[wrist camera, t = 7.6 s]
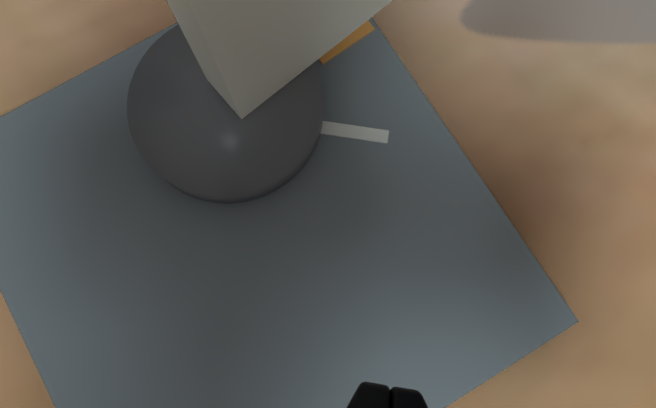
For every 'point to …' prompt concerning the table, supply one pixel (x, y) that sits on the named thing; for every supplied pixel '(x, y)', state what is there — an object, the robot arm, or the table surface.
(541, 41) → the table surface
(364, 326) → the dial plate
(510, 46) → the table surface
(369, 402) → the robot arm
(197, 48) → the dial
